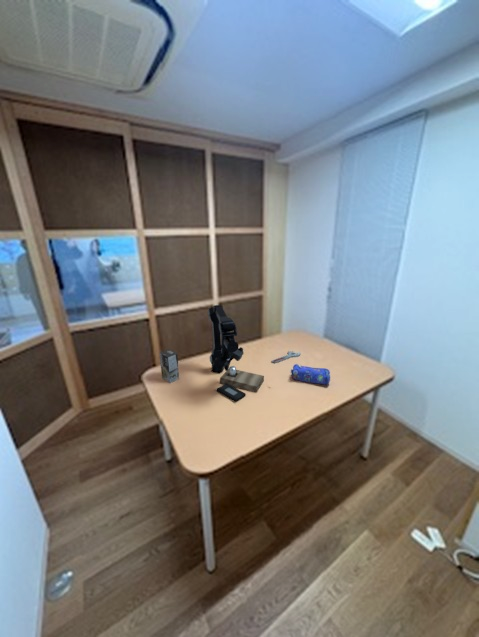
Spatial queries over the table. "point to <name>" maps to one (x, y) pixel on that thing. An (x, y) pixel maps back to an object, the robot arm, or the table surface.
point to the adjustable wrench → (290, 354)
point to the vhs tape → (231, 392)
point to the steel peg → (232, 371)
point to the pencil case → (311, 374)
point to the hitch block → (243, 380)
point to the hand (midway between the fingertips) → (226, 370)
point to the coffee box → (169, 365)
